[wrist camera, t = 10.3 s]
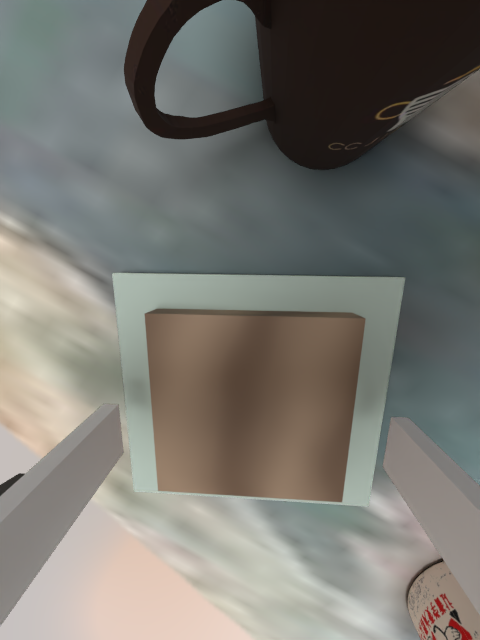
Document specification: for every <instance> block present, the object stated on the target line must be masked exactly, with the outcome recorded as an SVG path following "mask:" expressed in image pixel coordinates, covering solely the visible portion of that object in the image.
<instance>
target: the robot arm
mask: <svg viewBox="0 0 480 640" xmlns="http://www.w3.org/2000/svg"><path fill="white" fill-rule="evenodd" d="M123 453H124V451H123V442H122V432H121V423H120V414H119V404H103V405H102V406H100V407H99V408H98V409H97V410H96V411H95V412H94V413H93V414H92V415H90V416H89V417H88V418H87V419H86V420H85V421H84V422H83V423H81V424H80V425H79V426H78V427H77V428H76V429H75V430H74V431H73V432H71V433H70V434H69V435H68V436H67V437H66V438H65V439H64V440H63V441H61V442H60V443H59V444H58V445H57V446H56V447H55V448H54V449H52V450H51V451H50V452H49V453H48V454H47V455H46V456H45V457H44V458H42V459H41V460H40V461H39V462H38V463H37V464H36V465H35V466H34V467H32V468H31V469H30V470H29V471H28V472H27V473H26V474H18V475H16V476H14V477H13V478H11V479H9V480H8V481H6V482H5V483H3V484H1V485H0V626H1V625H2V623H3V622H4V620H5V619H6V618H7V616H8V615H9V613H10V612H11V611H12V609H13V608H14V606H15V605H16V604H17V602H18V601H19V599H20V598H21V596H22V595H23V594H24V592H25V591H26V589H27V588H28V587H29V585H30V584H31V582H32V581H33V579H34V578H35V577H36V575H37V574H38V572H39V571H40V570H41V568H42V567H43V565H44V564H45V563H46V561H47V560H48V558H49V557H50V556H51V554H52V553H53V551H54V550H55V549H56V547H57V546H58V544H59V543H60V541H61V540H62V539H63V537H64V536H65V534H66V533H67V532H68V530H69V529H70V527H71V526H72V525H73V523H74V522H75V520H76V519H77V518H78V516H79V515H80V513H81V512H82V510H83V509H84V508H85V506H86V505H87V503H88V502H89V501H90V499H91V498H92V496H93V495H94V494H95V492H96V491H97V489H98V488H99V486H100V485H101V484H102V482H103V481H104V479H105V478H106V477H107V475H108V474H109V472H110V471H111V470H112V468H113V467H114V465H115V464H116V463H117V461H118V460H119V458H120V457H121V455H122V454H123ZM383 468H384V470H385V471H386V473H387V474H388V476H389V477H390V479H391V480H392V482H393V483H394V485H395V487H396V488H397V490H398V491H399V493H400V494H401V496H402V497H403V499H404V500H405V502H406V503H407V505H408V506H409V508H410V509H411V511H412V513H413V514H414V516H415V517H416V519H417V520H418V522H419V523H420V525H421V526H422V528H423V529H424V531H425V532H426V534H427V535H428V537H429V539H430V540H431V542H432V543H433V545H434V546H435V548H436V549H437V551H438V552H439V554H440V555H441V557H442V558H443V560H444V561H445V563H446V564H447V566H448V568H449V569H450V571H451V572H452V574H453V575H454V577H455V578H456V580H457V581H458V583H459V584H460V586H461V587H462V589H463V590H464V592H465V594H466V595H467V597H468V598H469V600H470V601H471V603H472V604H473V606H474V607H475V609H476V610H477V612H478V613H479V615H480V486H479V485H478V484H477V483H476V482H475V481H474V480H473V479H472V478H471V477H470V476H469V475H468V474H467V473H466V472H465V471H464V470H463V469H461V468H460V467H459V466H458V465H457V464H456V463H455V462H454V461H453V460H452V459H451V458H450V457H449V456H448V455H447V454H446V453H445V452H444V451H443V450H442V449H441V448H440V447H439V446H437V445H436V444H435V443H434V442H433V441H432V440H431V439H430V438H429V437H428V436H427V435H426V434H425V433H424V432H423V431H422V430H421V429H420V428H419V427H418V426H417V425H416V424H414V423H413V422H412V421H411V420H410V419H409V418H407V417H391V421H390V427H389V433H388V439H387V444H386V450H385V456H384V462H383Z"/></svg>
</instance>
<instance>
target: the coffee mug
mask: <svg viewBox="0 0 480 640" xmlns="http://www.w3.org/2000/svg"><path fill="white" fill-rule="evenodd" d="M219 1H221V0H147V1H146V3H145V5H144V7H143V9H142V11H141V13H140V15H139V17H138V19H137V21H136V23H135V26H134V29H133V31H132V34H131V37H130V41H129V45H128V49H127V53H126V57H125V64H124V75H125V83H126V86H127V89H128V92H129V94H130V97H131V100H132V103H133V105H134V108H135V110H136V112H137V113H138V115H139V116H140V118H141V120H142V121H143V123H144V124H145V126H146V127H147V128H148V129H149V130H150V131H151V132H153V133H154V134H156V135H158V136H160V137H164V138H171V139H192V138H201V137H208V136H212V135H216V134H219V133H223V132H226V131H229V130H233V129H236V128H239V127H242V126H245V125H248V124H251V123H253V122H258V121H261V120H264V119H265V120H267V125H268V129H269V131H270V133H271V136H272V138H273V140H274V142H275V143H276V144H277V146H278V147H279V149H280V150H281V151H282V152H283V153H284V154H285V155H286V156H287V157H288V158H289V159H290V160H292V161H294V162H295V163H297V164H299V165H301V166H304V167H307V168H310V169H318V170H326V169H335V168H338V167H341V166H344V165H347V164H348V163H350V162H352V161H354V160H356V159H357V158H359V157H360V156H362V155H363V154H364V153H366V152H367V151H368V150H370V149H371V148H372V147H374V146H375V145H377V144H378V143H379V142H381V141H382V140H383V139H385V138H386V137H387V136H389V135H390V134H391V133H393V132H394V131H396V130H397V129H398V128H400V127H401V126H402V125H404V124H405V123H406V122H408V121H409V120H411V119H412V118H413V117H415V116H416V115H417V114H419V113H420V112H421V111H423V110H424V109H426V108H427V107H428V106H430V105H431V104H432V103H434V102H435V101H436V100H438V99H439V98H441V97H442V96H443V95H445V94H446V93H447V92H449V91H450V90H451V89H453V88H454V87H455V86H457V85H458V84H460V83H461V82H462V81H464V80H465V79H466V78H468V77H469V76H470V75H472V74H473V73H475V72H476V71H477V70H479V69H480V0H238V1H241V2H244V3H245V4H246V5H247V6H248V7H249V8H250V9H251V10H252V12H253V13H254V15H255V19H256V29H257V39H258V49H259V59H260V68H261V78H262V88H263V98H264V100H263V101H261V102H258V103H254V104H249V105H246V106H242V107H239V108H235V109H232V110H228V111H224V112H220V113H216V114H212V115H208V116H204V117H198V118H189V117H183V116H172V115H169V114H164V113H162V112H161V111H159V110H158V109H157V108H156V104H155V97H154V92H155V81H156V76H157V73H158V70H159V67H160V65H161V62H162V60H163V57H164V55H165V53H166V51H167V49H168V47H169V45H170V43H171V41H172V39H173V37H174V36H175V35H176V34H177V33H178V32H179V30H180V28H181V27H182V26H183V25H184V24H185V23H186V22H187V21H188V20H189V19H190V18H192V17H193V16H194V15H195V14H196V13H198V12H199V11H200V10H202V9H204V8H206V7H208V6H210V5H212V4H214V3H217V2H219Z"/></svg>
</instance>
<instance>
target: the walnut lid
mask: <svg viewBox="0 0 480 640" xmlns="http://www.w3.org/2000/svg"><path fill="white" fill-rule="evenodd" d="M365 320H366V318H363V317H361V316H359V315H357V314H354V313H350V312H302V311H254V310H206V309H158V308H157V309H155V310H152V311H150V312H147V313H145V327H146V340H147V353H148V366H149V379H150V393H151V406H152V419H153V432H154V445H155V458H156V471H157V484H158V491H168V492H184V493H200V494H216V495H232V496H248V497H264V498H280V499H296V500H312V501H328V502H342V500H343V492H344V484H345V476H346V469H347V461H348V453H349V445H350V437H351V429H352V422H353V414H354V406H355V398H356V390H357V383H358V375H359V367H360V359H361V351H362V343H363V336H364V328H365Z"/></svg>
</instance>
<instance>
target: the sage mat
mask: <svg viewBox="0 0 480 640" xmlns="http://www.w3.org/2000/svg"><path fill="white" fill-rule="evenodd" d="M112 277H113V287H114V297H115V307H116V317H117V327H118V337H119V347H120V357H121V367H122V377H123V387H124V397H125V407H126V417H127V427H128V437H129V447H130V457H131V467H132V477H133V487H134V491H135V492H151V493H166V494H182V495H197V496H212V497H228V498H243V499H259V500H274V501H290V502H305V503H321V504H336V505H352V506H367V507H369V501H370V495H371V488H372V482H373V476H374V470H375V463H376V457H377V451H378V445H379V438H380V432H381V426H382V420H383V414H384V407H385V401H386V395H387V389H388V382H389V376H390V370H391V364H392V358H393V351H394V345H395V339H396V333H397V326H398V320H399V314H400V308H401V302H402V295H403V289H404V283H405V277H368V276H302V275H236V274H170V273H112ZM157 308H158V309H206V310H254V311H302V312H350V313H354V314H357V315H359V316H361V317H363V318H366V320H365V328H364V336H363V343H362V351H361V359H360V367H359V375H358V383H357V390H356V398H355V406H354V414H353V422H352V429H351V437H350V445H349V453H348V461H347V469H346V476H345V484H344V492H343V500H342V502H328V501H312V500H296V499H280V498H264V497H248V496H232V495H216V494H200V493H184V492H168V491H158V484H157V471H156V458H155V445H154V432H153V419H152V406H151V393H150V379H149V366H148V353H147V340H146V327H145V313H147V312H150V311H152V310H155V309H157Z"/></svg>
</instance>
